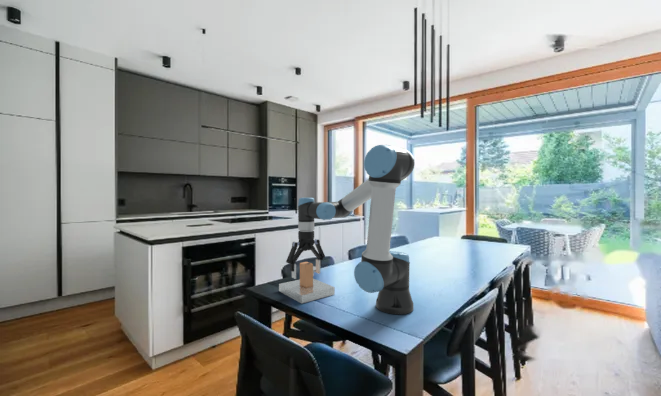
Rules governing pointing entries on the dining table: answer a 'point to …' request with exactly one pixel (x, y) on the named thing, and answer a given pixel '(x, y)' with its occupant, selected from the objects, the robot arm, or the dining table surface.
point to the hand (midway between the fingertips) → (306, 275)
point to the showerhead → (314, 269)
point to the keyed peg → (306, 274)
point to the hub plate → (306, 290)
